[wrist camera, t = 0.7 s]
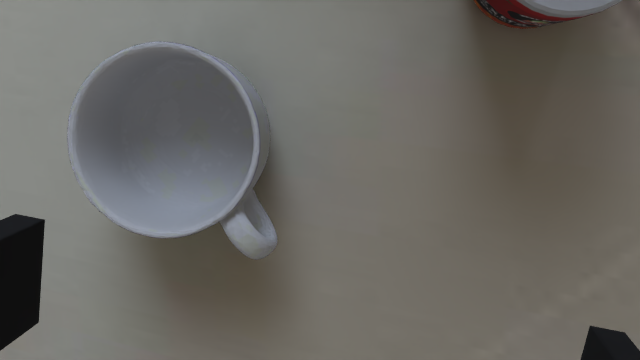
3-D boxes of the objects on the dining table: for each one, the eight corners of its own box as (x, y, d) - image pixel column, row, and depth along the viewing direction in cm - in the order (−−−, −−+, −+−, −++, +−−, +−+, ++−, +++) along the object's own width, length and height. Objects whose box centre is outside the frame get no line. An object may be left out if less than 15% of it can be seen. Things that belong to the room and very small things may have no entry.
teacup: (98, 96, 41) (28, 104, 34) (232, 14, 39) (192, 2, 31) (201, 272, 43) (158, 319, 35) (337, 202, 41) (323, 236, 33)
